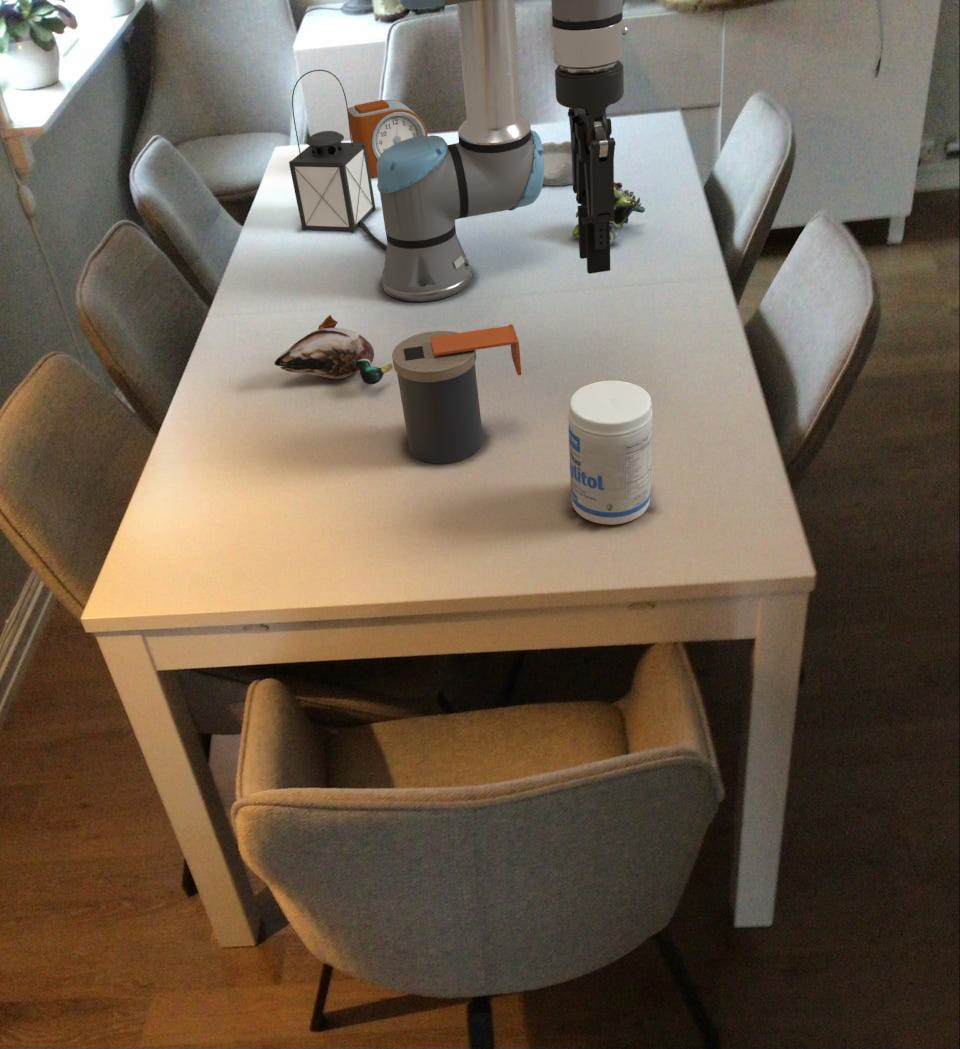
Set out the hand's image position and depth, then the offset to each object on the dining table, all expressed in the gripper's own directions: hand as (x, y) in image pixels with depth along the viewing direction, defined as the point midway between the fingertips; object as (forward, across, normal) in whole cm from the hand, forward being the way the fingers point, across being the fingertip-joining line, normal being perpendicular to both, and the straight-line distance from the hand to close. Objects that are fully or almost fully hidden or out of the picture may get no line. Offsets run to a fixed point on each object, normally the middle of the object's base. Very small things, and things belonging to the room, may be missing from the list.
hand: (594, 263), depth 132 cm
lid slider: (+13, 0, +16) cm, 20 cm away
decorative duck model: (+23, +20, +35) cm, 47 cm away
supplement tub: (+23, -19, +3) cm, 30 cm away
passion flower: (+23, +58, -15) cm, 64 cm away
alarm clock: (+23, +110, +20) cm, 115 cm away
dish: (+23, +92, -12) cm, 95 cm away
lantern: (+23, +85, +33) cm, 94 cm away
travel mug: (+23, 0, +21) cm, 31 cm away
